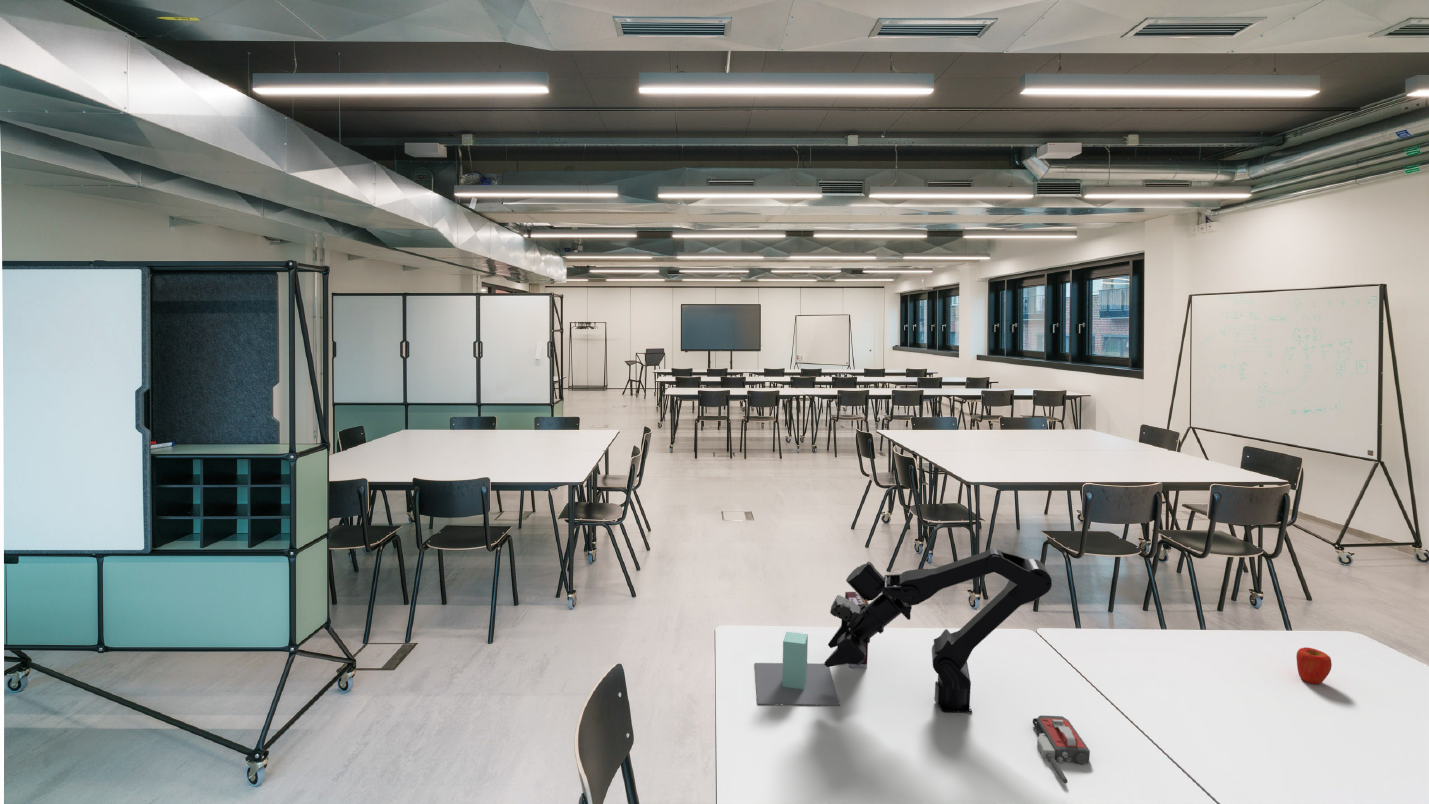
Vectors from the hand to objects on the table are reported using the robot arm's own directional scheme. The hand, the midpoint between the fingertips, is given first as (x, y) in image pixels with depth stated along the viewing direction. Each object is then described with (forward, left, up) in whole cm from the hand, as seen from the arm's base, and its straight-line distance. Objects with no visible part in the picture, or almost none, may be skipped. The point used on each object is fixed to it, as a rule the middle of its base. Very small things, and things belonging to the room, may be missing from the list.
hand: (827, 655), depth 164 cm
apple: (-114, -6, -8) cm, 114 cm away
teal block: (+7, -2, -8) cm, 11 cm away
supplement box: (-9, -14, -8) cm, 18 cm away
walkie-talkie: (-43, +23, -8) cm, 50 cm away
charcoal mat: (+7, -2, -8) cm, 11 cm away
